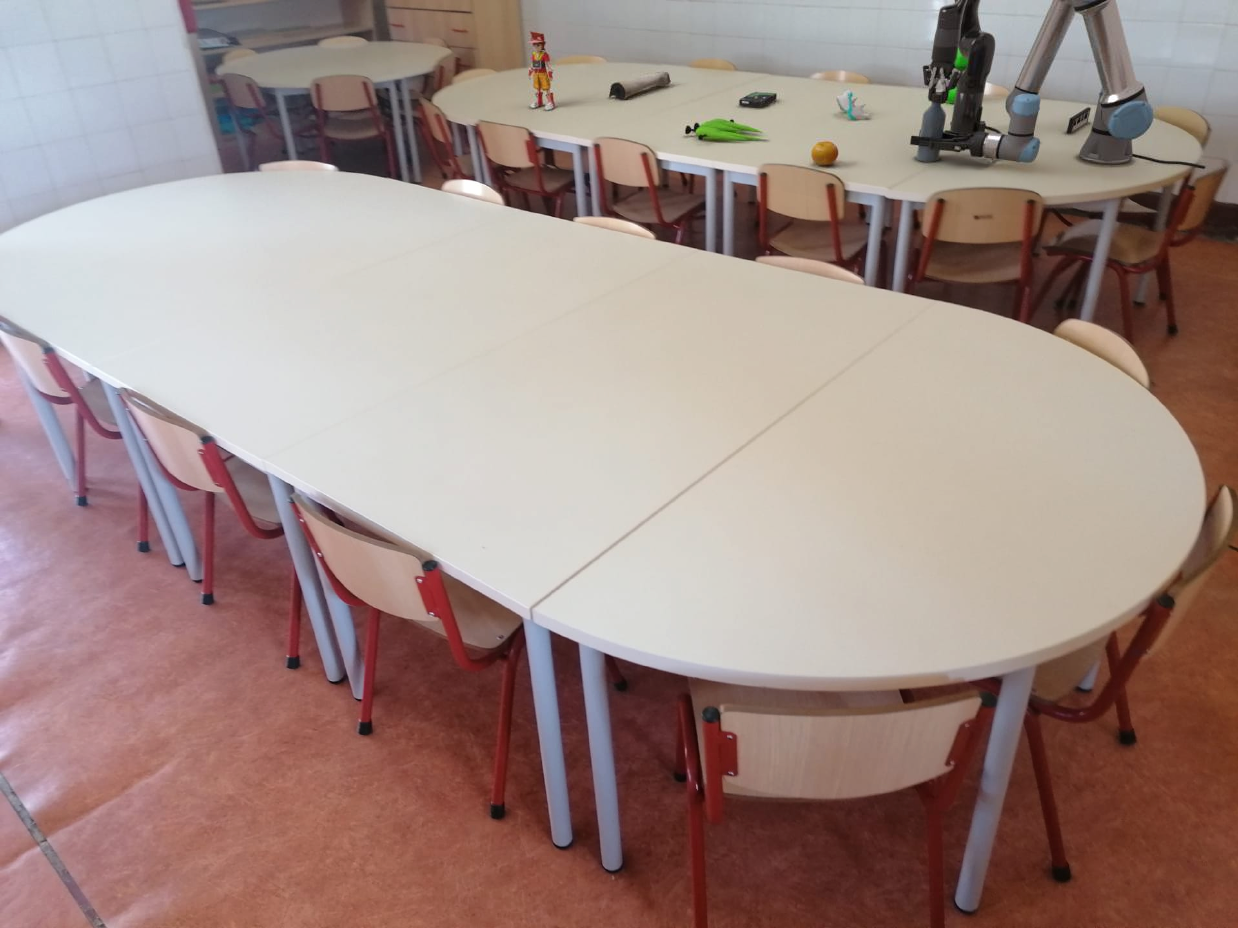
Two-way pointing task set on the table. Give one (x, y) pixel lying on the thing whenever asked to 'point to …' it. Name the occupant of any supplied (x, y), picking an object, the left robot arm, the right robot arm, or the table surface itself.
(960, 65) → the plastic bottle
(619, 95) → the rolled mat
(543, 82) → the toy
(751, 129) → the toy
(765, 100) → the disk drive
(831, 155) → the fruit
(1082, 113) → the midi keyboard
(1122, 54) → the right robot arm
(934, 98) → the cap
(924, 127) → the bottle
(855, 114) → the anatomical model
